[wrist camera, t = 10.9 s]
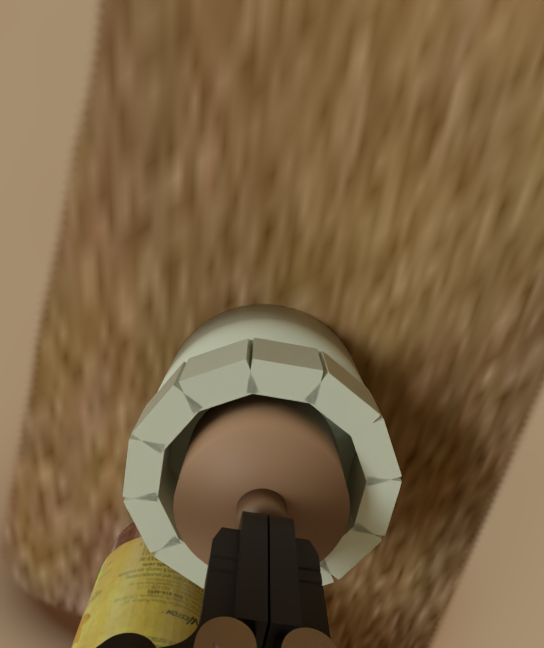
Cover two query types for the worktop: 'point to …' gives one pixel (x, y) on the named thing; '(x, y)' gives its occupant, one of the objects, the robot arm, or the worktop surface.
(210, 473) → the lid
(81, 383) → the worktop surface
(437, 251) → the worktop surface
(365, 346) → the worktop surface
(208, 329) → the jar
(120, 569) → the sauce bottle
